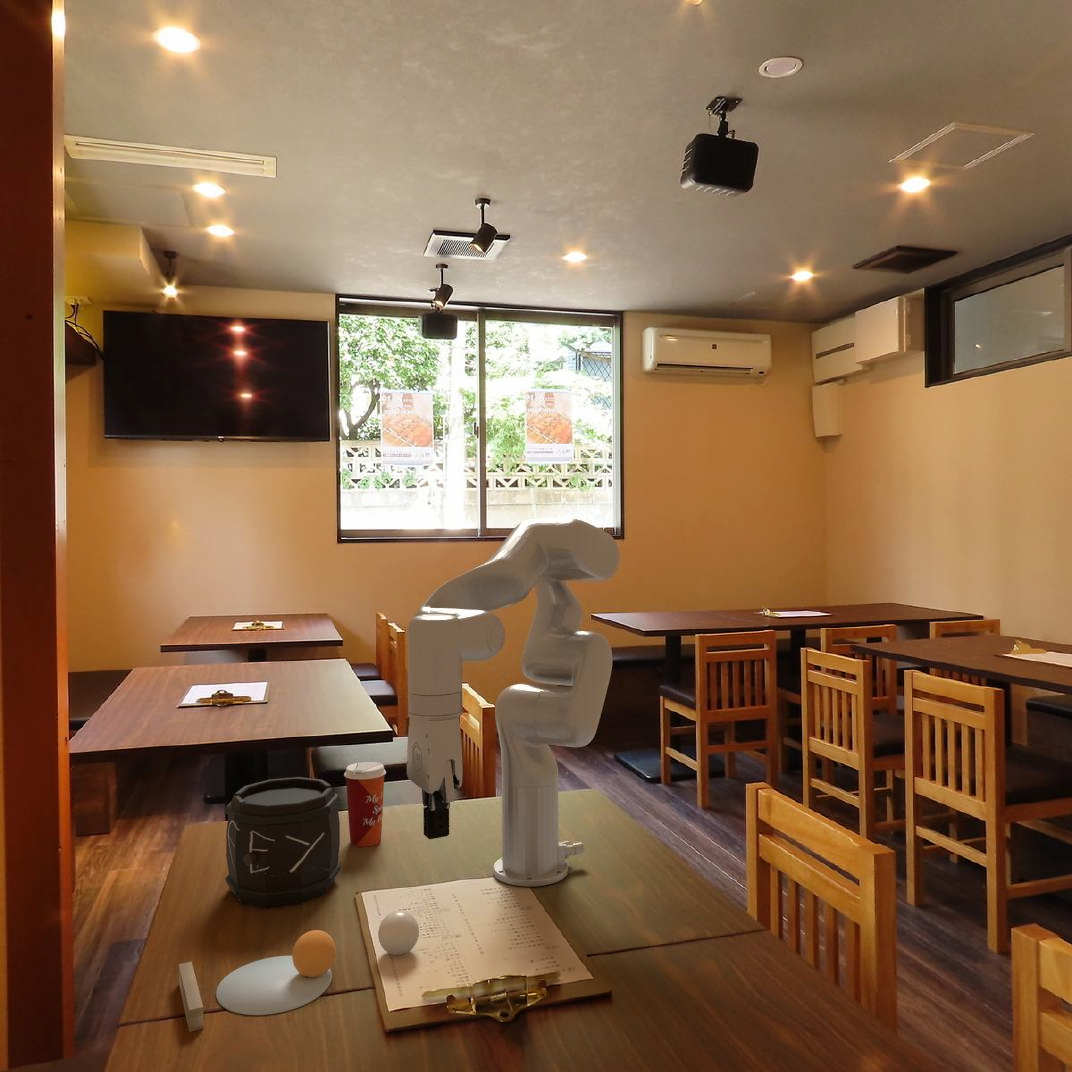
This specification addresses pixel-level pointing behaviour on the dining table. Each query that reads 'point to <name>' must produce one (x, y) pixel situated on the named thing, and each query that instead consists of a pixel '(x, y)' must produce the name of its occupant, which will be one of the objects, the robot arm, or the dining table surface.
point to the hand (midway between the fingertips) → (436, 835)
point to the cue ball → (398, 932)
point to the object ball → (314, 953)
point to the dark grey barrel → (282, 841)
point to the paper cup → (365, 802)
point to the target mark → (269, 987)
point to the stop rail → (190, 997)
